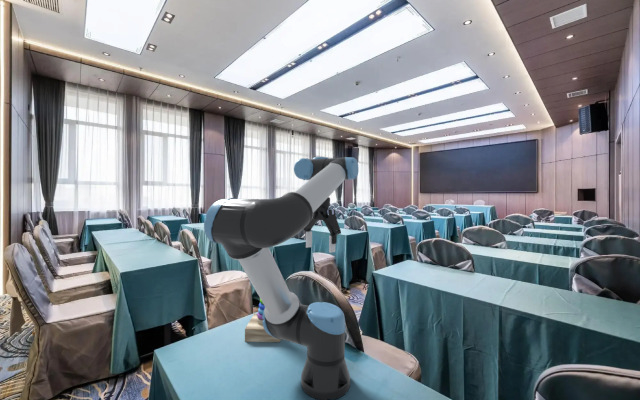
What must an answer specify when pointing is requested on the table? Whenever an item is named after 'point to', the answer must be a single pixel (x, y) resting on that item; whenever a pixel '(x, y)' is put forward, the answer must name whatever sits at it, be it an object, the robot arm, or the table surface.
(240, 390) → the table surface
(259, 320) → the stacking toy
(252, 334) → the plinth
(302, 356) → the table surface
